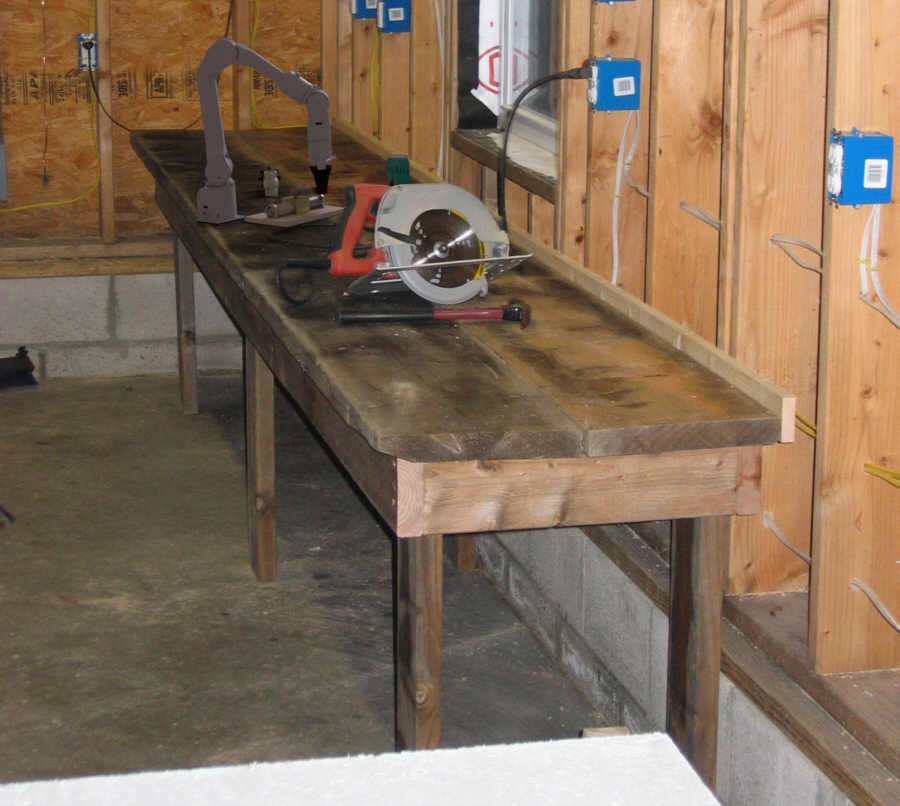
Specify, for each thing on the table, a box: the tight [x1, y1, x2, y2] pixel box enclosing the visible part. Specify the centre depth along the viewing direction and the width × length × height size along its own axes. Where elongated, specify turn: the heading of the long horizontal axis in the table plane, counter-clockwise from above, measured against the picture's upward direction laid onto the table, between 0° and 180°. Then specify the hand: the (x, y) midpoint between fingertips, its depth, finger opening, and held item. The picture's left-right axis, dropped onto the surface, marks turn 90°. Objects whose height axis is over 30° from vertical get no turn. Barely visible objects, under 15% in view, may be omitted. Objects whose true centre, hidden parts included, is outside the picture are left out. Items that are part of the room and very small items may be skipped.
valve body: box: [264, 194, 327, 219], centre depth 355 cm, size 18×5×4 cm, turn 142°
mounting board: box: [244, 205, 345, 228], centre depth 356 cm, size 22×14×1 cm, turn 142°
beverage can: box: [385, 154, 411, 186], centre depth 351 cm, size 6×6×15 cm
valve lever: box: [289, 184, 332, 196], centre depth 355 cm, size 10×3×2 cm, turn 114°
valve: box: [257, 165, 282, 197], centre depth 391 cm, size 7×7×12 cm
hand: (322, 194), depth 355 cm, fingers closed, pressing on valve lever
